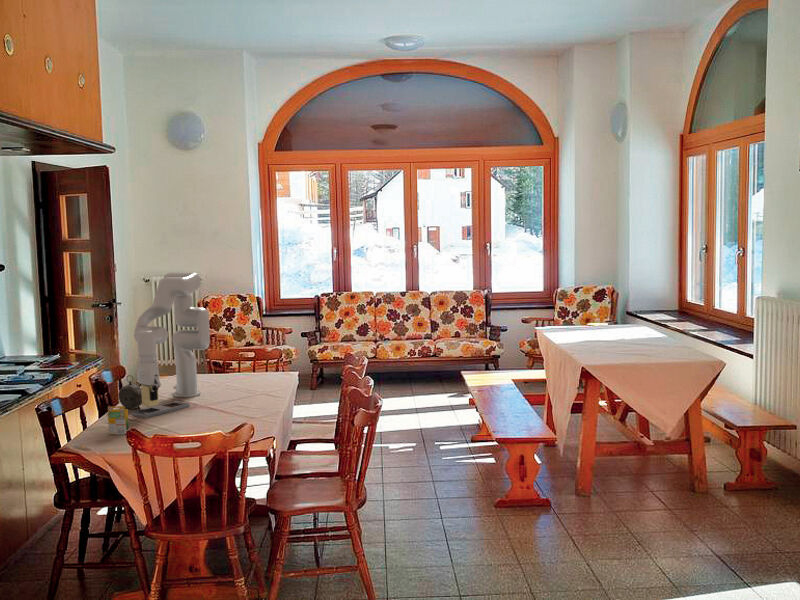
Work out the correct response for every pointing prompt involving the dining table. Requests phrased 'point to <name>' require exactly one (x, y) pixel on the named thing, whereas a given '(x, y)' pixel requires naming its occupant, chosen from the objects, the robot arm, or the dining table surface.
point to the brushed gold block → (148, 396)
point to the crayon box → (118, 420)
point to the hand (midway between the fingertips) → (150, 398)
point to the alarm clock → (130, 396)
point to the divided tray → (160, 409)
